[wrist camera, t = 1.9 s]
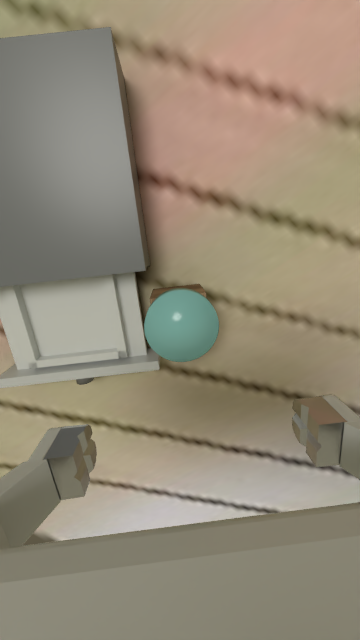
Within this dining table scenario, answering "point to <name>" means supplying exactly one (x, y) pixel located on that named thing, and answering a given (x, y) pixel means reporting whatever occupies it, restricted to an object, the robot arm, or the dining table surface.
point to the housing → (66, 161)
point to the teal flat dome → (181, 325)
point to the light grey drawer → (74, 330)
